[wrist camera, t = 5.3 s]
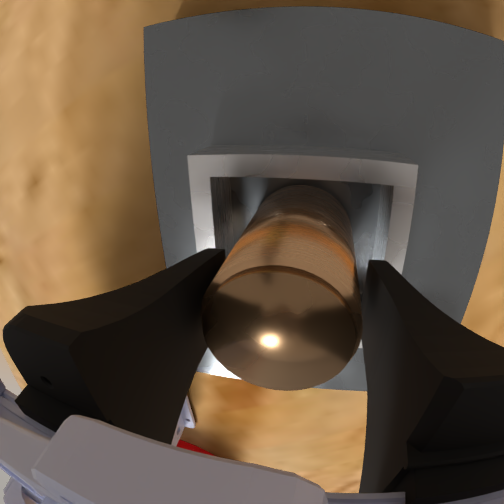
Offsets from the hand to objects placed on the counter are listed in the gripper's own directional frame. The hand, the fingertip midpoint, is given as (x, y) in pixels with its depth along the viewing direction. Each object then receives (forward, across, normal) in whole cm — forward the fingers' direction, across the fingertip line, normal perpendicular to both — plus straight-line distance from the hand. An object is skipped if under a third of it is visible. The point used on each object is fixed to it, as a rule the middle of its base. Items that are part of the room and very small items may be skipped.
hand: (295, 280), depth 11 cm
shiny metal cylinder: (+4, 0, 0) cm, 4 cm away
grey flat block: (+6, -1, 0) cm, 6 cm away
